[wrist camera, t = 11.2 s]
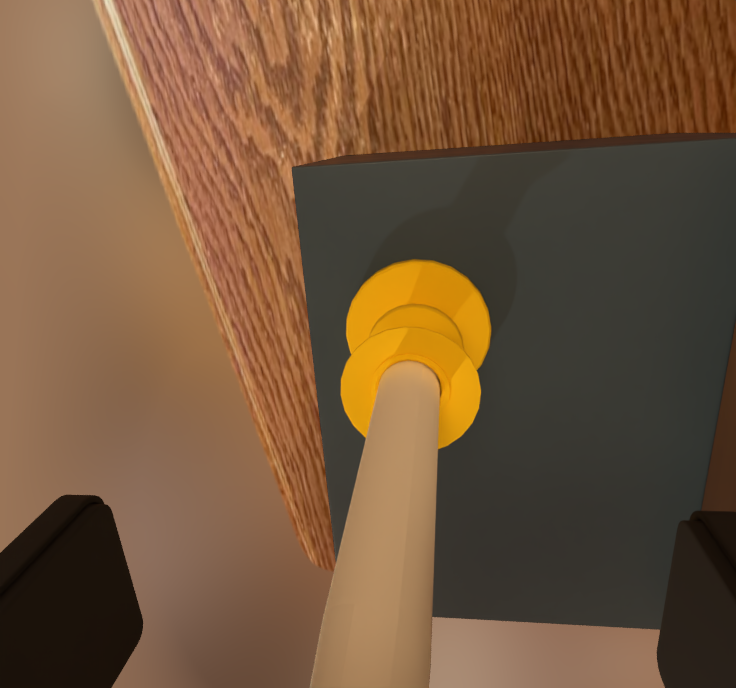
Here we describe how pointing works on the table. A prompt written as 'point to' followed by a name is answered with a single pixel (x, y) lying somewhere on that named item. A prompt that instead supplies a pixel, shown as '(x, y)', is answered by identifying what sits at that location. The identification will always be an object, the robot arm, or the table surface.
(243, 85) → the table surface
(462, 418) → the candle
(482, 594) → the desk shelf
